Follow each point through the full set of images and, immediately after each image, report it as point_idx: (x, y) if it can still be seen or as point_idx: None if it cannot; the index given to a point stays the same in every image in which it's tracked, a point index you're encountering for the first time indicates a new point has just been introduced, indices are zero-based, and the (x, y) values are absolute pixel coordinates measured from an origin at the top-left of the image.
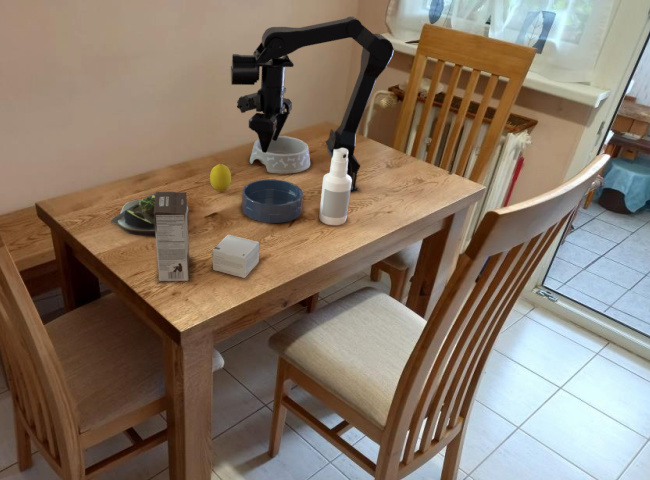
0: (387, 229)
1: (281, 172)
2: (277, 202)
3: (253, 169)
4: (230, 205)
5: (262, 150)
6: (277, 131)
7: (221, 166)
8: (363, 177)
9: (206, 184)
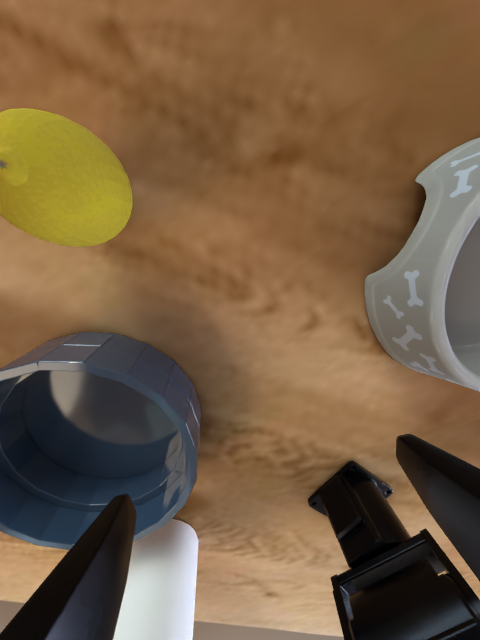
0: (194, 615)
1: (374, 325)
2: (157, 412)
3: (372, 210)
4: (38, 296)
5: (104, 514)
6: (471, 547)
7: (1, 183)
8: None
9: (128, 92)
